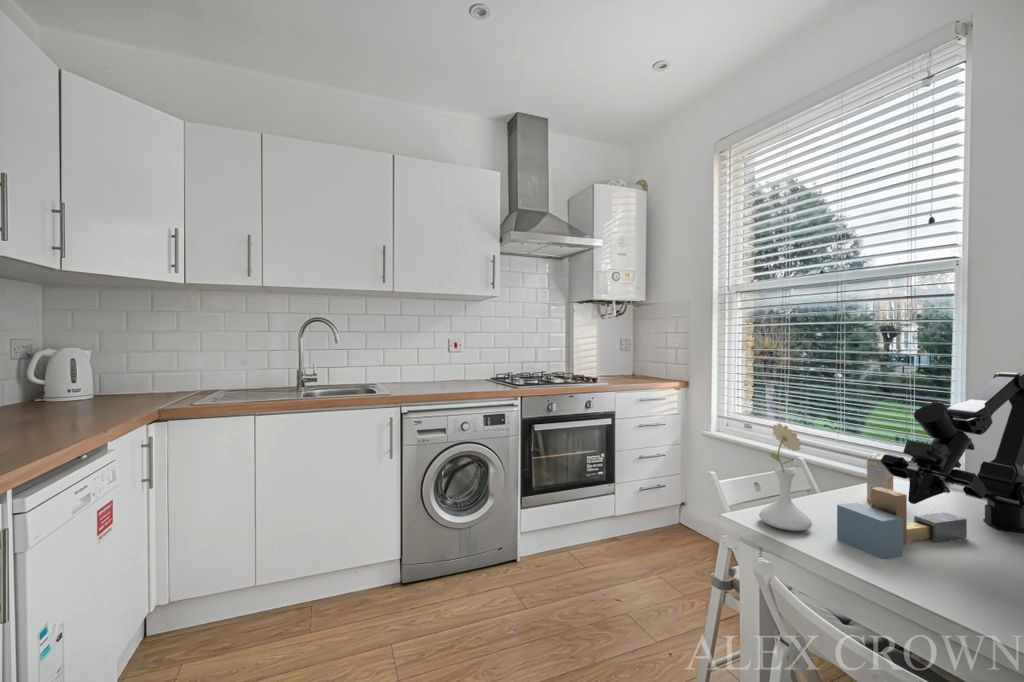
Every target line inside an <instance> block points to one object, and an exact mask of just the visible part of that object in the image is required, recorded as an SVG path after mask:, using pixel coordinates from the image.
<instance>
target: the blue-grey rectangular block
mask: <svg viewBox="0 0 1024 682" xmlns="http://www.w3.org/2000/svg"><path fill="white" fill-rule="evenodd" d="M836 506H837V507H836V509H837V510H836V516H837V517H836V539H837V540H838V541H839V542H842V543H845V544H846V545H849V546H852V547H853V548H855V549H858V550H861V551H863V552H865V553H867V554H869V553H870V555H872V556H874V555H875V556H874V557H877V558H878V557H879V558H878V559H881V560H884V559H886V560H887V559H891V558H892V559H893V558H899V557H903V556H904V545H903V518H900V517H898V516H895V515H892V514H889V513H886V512H883V511H880V510H877V509H874V508H871V506H869V505H865V504H862V503H859V502H850V503H842V504H837V505H836Z"/></svg>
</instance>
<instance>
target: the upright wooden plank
mask: <svg viewBox="0 0 1024 682" xmlns="http://www.w3.org/2000/svg"><path fill="white" fill-rule="evenodd" d="M907 496H908V495H907V494H905V493H901V492H898V491H895V490H893V491H892V490H889V489H885V488H882V487H877V488H871V502H870V507H871V508H874V509H877V510H880V511H883V512H886V513H889V514H892V515H895V516H898V517H900V518H903V546H907V542H911V541H917V540H925V538H932V537H933V525H930V524H927V523H924V522H915V523H914V522H908V523H907V521H908V520H907V519H908V518H907V517H908V516H907V513H908V512H907V511H908V510H907V509H908V507H907V506H908V505H907V504H908V503H907V502H908V501H907V500H908V498H907Z"/></svg>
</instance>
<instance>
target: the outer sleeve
mask: <svg viewBox="0 0 1024 682" xmlns="http://www.w3.org/2000/svg"><path fill="white" fill-rule="evenodd" d="M913 521H914V522H913V523H915V522H924V523H927V524H930V525H933V537H932V538H925V539H924V540H925V541H929V542H931V543H934V544H939V542H940V543H946V541H947V542H952V541H953V540H954V541H960V540H959V539H961V540H966V539H965V538H967V534H968V530H967V529H968V525H967V521H968V519H967V518H966V517H961V516H958V515H955V514H952V513H949V512H946V511H943V512H936V513H935V512H933V513H929V514H928V513H927V514H920V515H919V514H918V515H914V516H913ZM951 540H952V541H951Z"/></svg>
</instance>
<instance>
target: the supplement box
mask: <svg viewBox="0 0 1024 682" xmlns="http://www.w3.org/2000/svg"><path fill="white" fill-rule="evenodd" d="M885 454H886V453H880V452H873V453H872V454H870V455H868V456H867V457H866V502H867V503H871V488H877V487H882V488H885V489H889V490H892V491H894V475H892V474H890V472H889V471H888V470H887V469H886V468H885V466H884V465H883V464H882V463H881V462H880V460H881V459H882V457H883V456H884V455H885Z"/></svg>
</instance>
